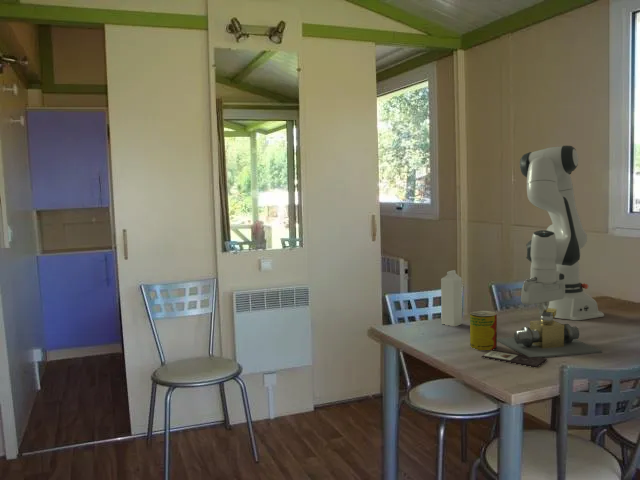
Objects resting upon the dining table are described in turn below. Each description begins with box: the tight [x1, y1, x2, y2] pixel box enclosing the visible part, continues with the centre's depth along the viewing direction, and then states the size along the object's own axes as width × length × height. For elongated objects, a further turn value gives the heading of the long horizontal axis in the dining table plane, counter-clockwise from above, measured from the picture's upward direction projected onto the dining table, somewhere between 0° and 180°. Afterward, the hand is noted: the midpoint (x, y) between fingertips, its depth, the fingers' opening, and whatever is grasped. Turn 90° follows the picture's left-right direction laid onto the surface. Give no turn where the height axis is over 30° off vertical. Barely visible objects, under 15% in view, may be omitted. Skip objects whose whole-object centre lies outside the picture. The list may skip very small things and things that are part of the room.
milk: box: [440, 269, 463, 327], centre depth 234 cm, size 6×6×22 cm
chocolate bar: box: [481, 349, 548, 368], centre depth 188 cm, size 9×1×18 cm
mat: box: [497, 336, 603, 358], centre depth 201 cm, size 26×23×1 cm
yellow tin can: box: [469, 309, 498, 351], centre depth 202 cm, size 9×9×12 cm
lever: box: [540, 308, 556, 323], centre depth 205 cm, size 15×4×3 cm, turn 150°
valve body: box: [513, 319, 580, 348], centre depth 201 cm, size 22×8×8 cm, turn 100°
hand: (542, 314), depth 209 cm, fingers closed
